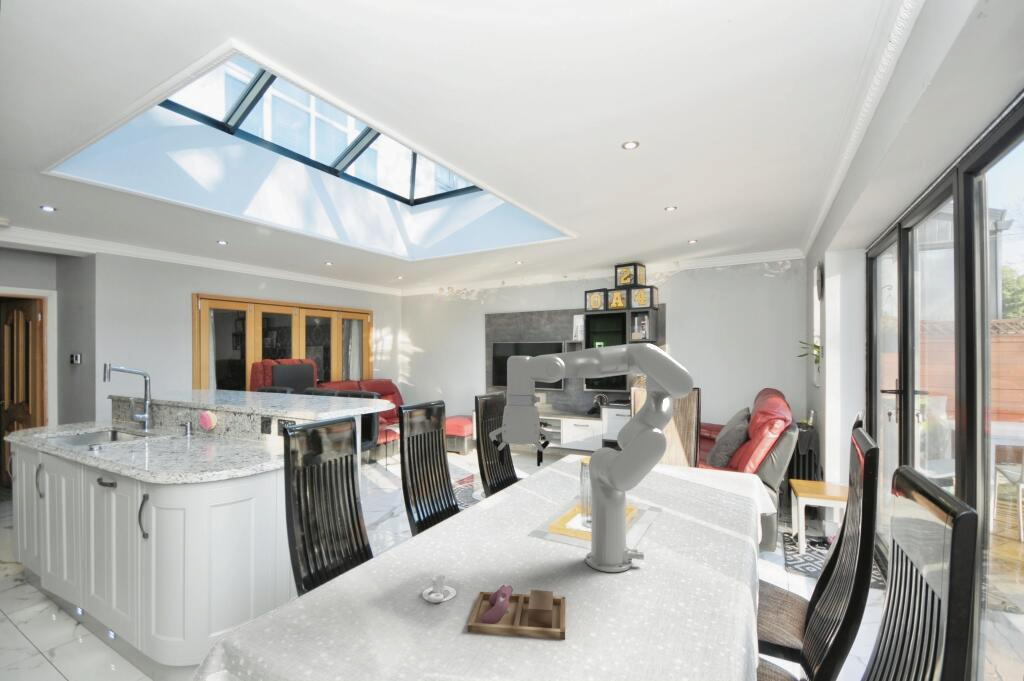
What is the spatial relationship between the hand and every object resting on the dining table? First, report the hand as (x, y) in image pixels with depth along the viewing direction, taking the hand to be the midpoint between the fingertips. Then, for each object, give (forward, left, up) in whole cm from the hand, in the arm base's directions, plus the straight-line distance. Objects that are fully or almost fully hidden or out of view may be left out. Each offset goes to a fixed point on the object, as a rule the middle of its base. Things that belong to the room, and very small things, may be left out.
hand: (520, 464), depth 126 cm
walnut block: (-7, +23, -28) cm, 37 cm away
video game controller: (+3, +23, -28) cm, 36 cm away
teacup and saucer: (+21, +16, -29) cm, 39 cm away
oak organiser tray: (-2, +23, -28) cm, 36 cm away
